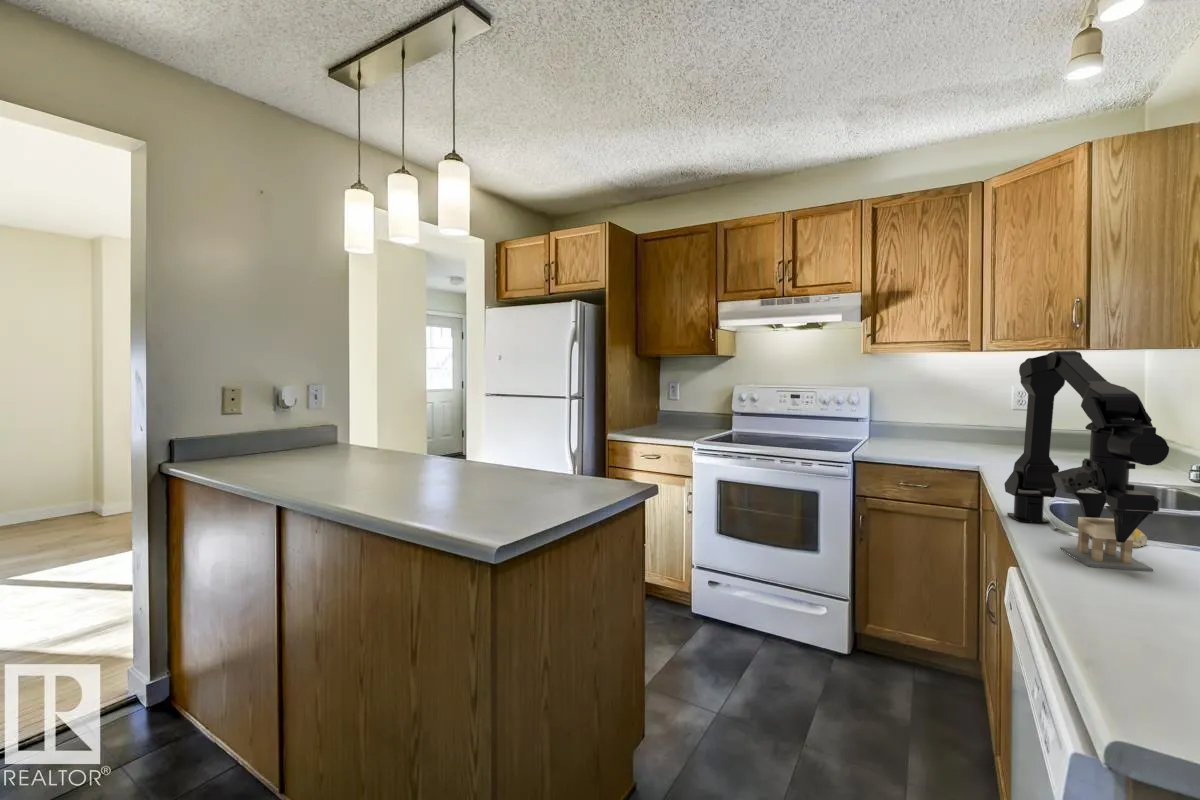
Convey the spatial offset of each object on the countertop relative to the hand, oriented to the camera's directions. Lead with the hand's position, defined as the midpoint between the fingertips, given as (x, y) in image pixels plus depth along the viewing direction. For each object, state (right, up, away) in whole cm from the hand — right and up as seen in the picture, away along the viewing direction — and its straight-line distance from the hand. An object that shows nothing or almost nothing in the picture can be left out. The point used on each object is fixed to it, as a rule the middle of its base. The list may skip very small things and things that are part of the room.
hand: (1105, 534), depth 107 cm
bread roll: (+13, -5, +11) cm, 18 cm away
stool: (0, -5, 0) cm, 5 cm away
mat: (0, -5, 0) cm, 5 cm away
